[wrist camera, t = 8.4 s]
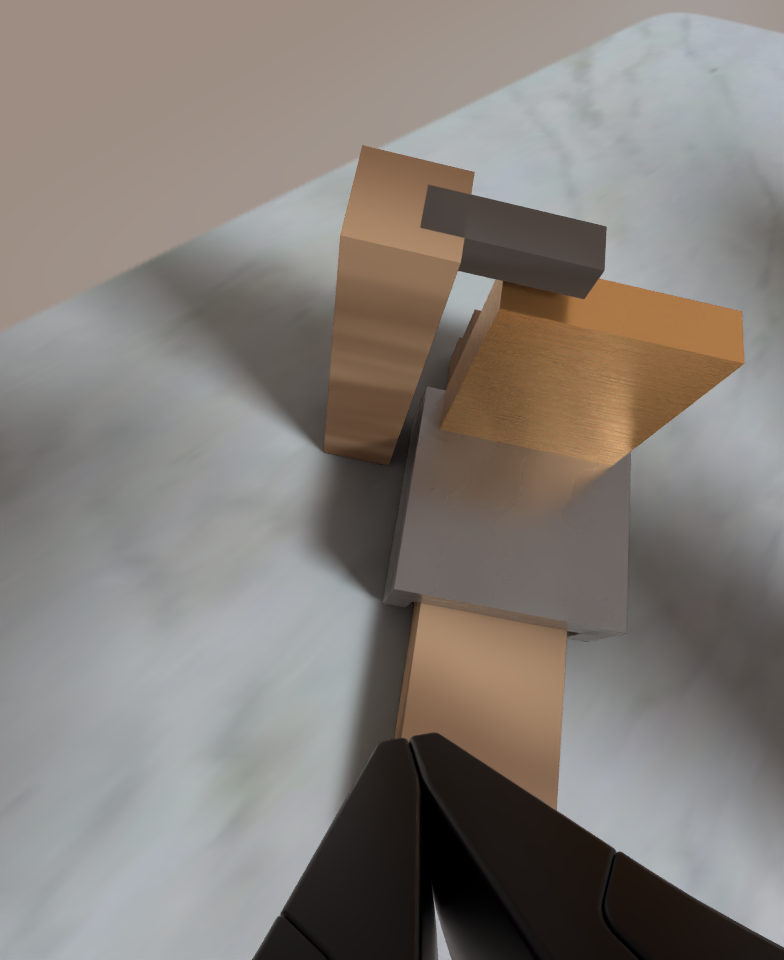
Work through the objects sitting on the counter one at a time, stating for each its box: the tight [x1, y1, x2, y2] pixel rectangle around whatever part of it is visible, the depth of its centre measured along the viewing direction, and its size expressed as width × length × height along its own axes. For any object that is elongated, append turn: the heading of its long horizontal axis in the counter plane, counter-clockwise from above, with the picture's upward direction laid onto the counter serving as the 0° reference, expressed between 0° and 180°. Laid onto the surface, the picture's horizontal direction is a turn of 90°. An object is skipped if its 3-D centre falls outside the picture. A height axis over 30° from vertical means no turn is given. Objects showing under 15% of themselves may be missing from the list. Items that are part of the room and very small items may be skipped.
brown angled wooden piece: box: [324, 146, 606, 810], centre depth 17 cm, size 18×9×12 cm, turn 171°
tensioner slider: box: [383, 279, 744, 642], centre depth 18 cm, size 7×7×10 cm
